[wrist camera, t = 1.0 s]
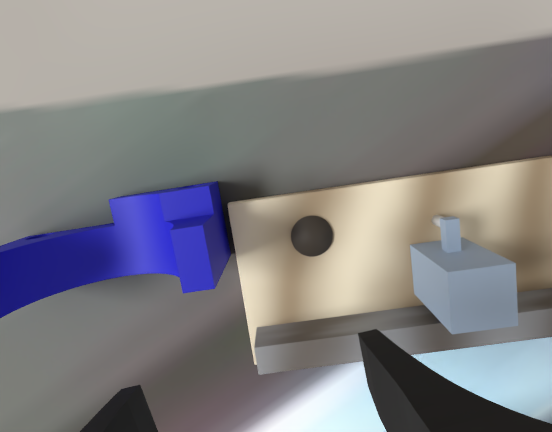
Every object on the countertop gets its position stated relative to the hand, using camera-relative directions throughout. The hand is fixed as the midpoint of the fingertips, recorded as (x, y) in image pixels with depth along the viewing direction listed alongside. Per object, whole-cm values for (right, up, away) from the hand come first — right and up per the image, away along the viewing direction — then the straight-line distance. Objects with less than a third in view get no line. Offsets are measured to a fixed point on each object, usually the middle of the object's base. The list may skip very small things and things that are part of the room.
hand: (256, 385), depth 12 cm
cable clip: (-8, +4, +11) cm, 15 cm away
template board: (+9, +3, +11) cm, 15 cm away
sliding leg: (+10, +3, +10) cm, 14 cm away
